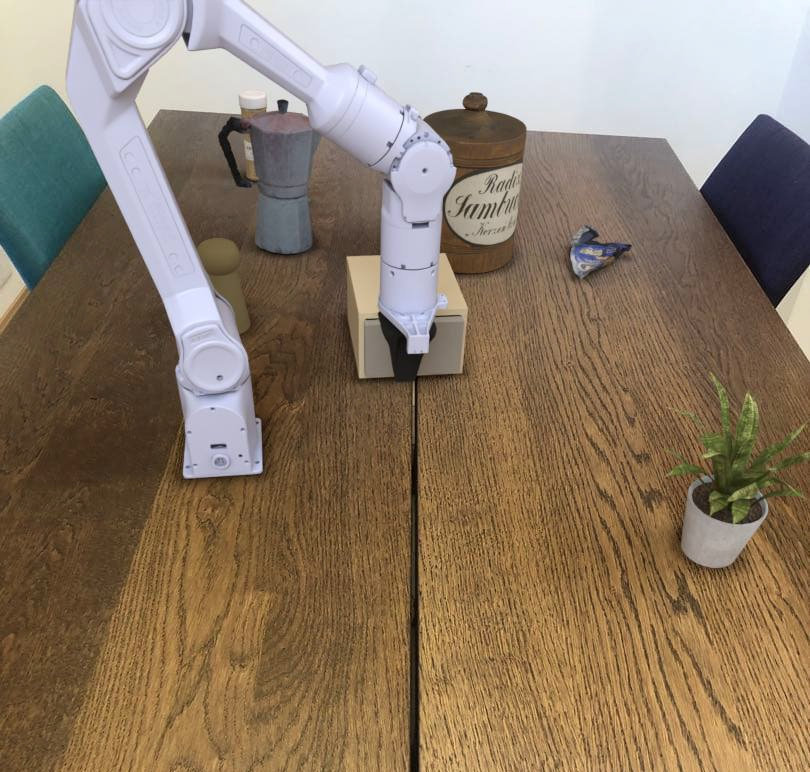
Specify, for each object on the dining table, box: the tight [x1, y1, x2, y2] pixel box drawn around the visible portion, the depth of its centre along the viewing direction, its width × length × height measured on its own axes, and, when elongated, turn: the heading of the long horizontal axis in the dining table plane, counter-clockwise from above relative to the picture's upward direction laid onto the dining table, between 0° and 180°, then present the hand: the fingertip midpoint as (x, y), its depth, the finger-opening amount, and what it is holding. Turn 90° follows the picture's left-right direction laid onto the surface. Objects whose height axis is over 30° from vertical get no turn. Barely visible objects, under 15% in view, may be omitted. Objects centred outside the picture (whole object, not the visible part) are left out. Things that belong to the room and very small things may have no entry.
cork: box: [196, 237, 252, 335], centre depth 102 cm, size 6×6×11 cm
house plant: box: [658, 370, 810, 569], centre depth 73 cm, size 14×14×16 cm
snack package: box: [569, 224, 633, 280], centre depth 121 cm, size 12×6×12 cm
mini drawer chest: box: [346, 253, 469, 379], centre depth 101 cm, size 15×13×9 cm
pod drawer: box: [364, 315, 464, 377], centre depth 99 cm, size 15×11×7 cm
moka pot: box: [217, 98, 323, 255], centre depth 117 cm, size 10×15×20 cm, turn 112°
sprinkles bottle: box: [238, 89, 268, 182], centre depth 139 cm, size 5×5×13 cm
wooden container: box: [422, 91, 528, 275], centre depth 116 cm, size 15×15×22 cm
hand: (404, 378), depth 88 cm, fingers closed
